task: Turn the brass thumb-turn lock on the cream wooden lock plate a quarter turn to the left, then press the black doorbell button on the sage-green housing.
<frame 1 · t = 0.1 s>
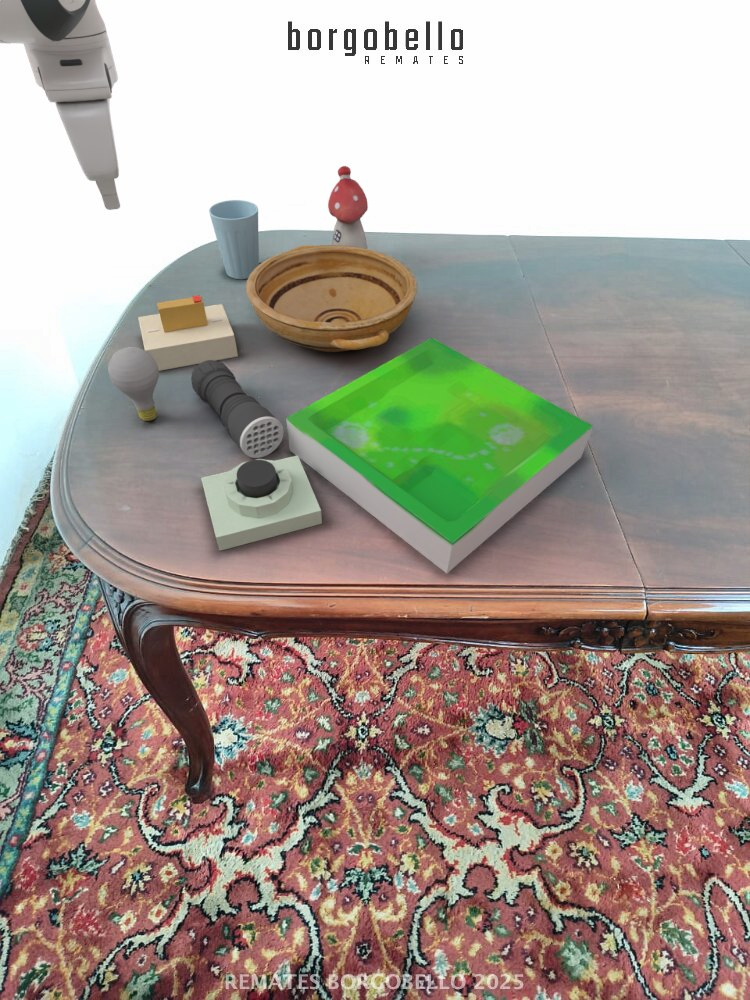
hand: (110, 193, 77), 18 cm above the table, tool pointing down, fingers open, 8 cm apart
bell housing: (262, 507, 65), on the table
tray: (435, 455, 71), on the table
light bulb: (150, 420, 75), on the table
lock plate: (190, 347, 85), on the table
ceramic bowl: (333, 332, 89), on the table
bell button: (257, 478, 61), point 4 cm above the table, slide at 0.1 cm
cup: (242, 273, 102), on the table
lock knob: (182, 313, 81), point 5 cm above the table, hinge at 0.0°
flashlight: (238, 424, 74), on the table
decorative ornament: (347, 265, 104), on the table
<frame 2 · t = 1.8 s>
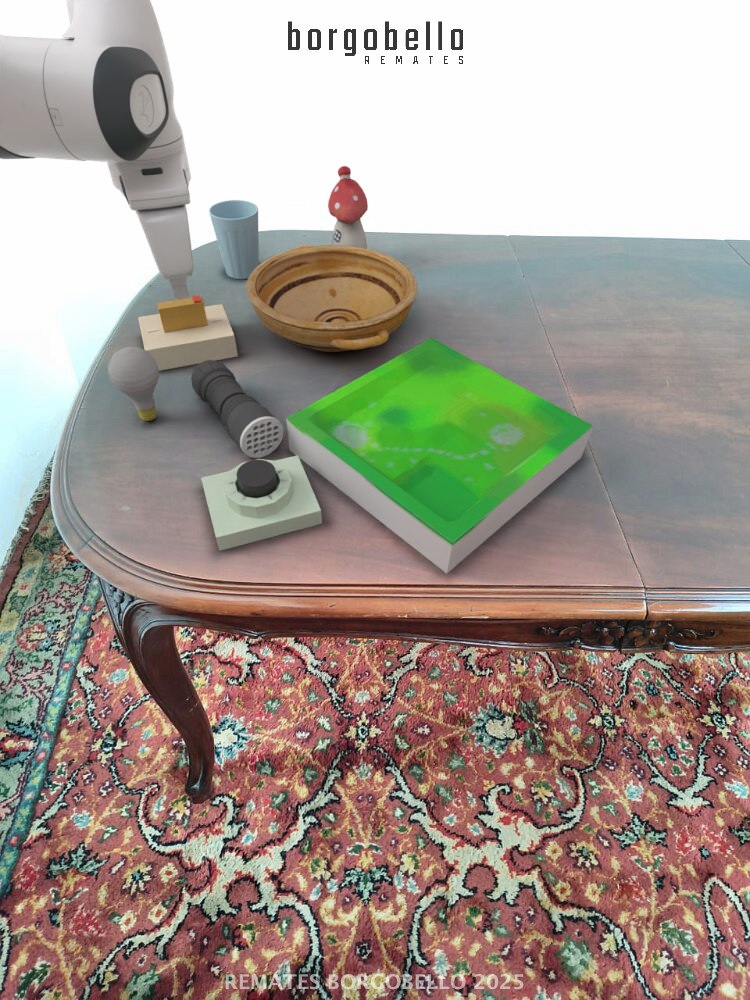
hand: (176, 279, 78), 10 cm above the table, tool pointing down, fingers open, 8 cm apart
nothing on the table moved.
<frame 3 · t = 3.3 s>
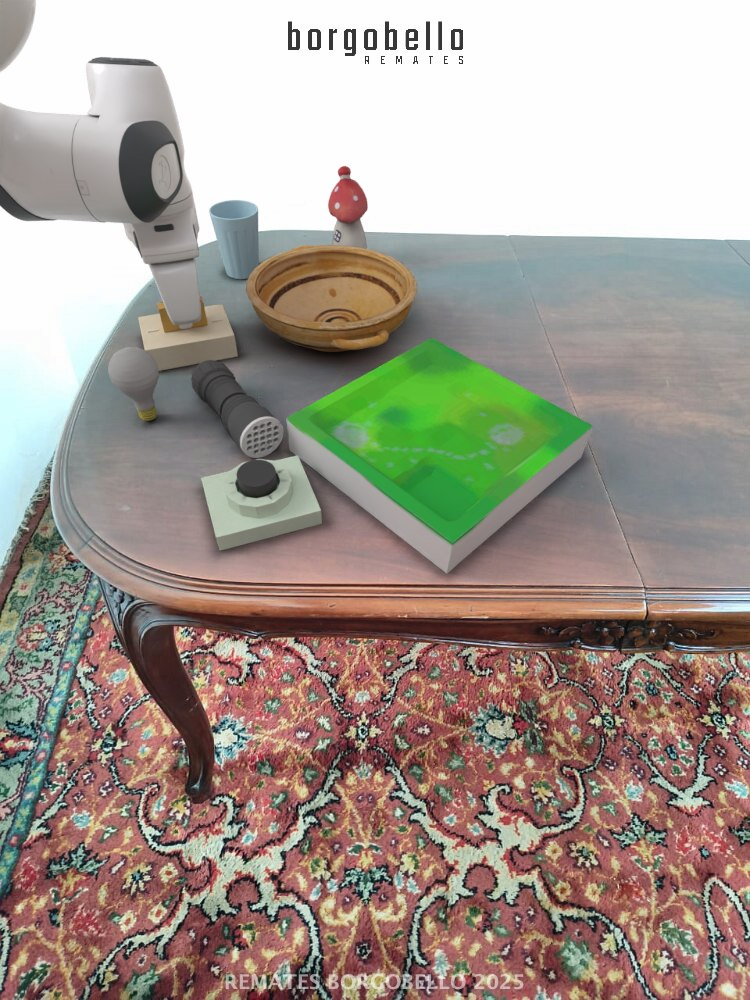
hand: (184, 320, 82), 4 cm above the table, tool pointing down, fingers closed on lock knob, 2 cm apart
lock knob: (182, 313, 81), point 5 cm above the table, hinge at 0.0°, touching gripper
everything else where it was.
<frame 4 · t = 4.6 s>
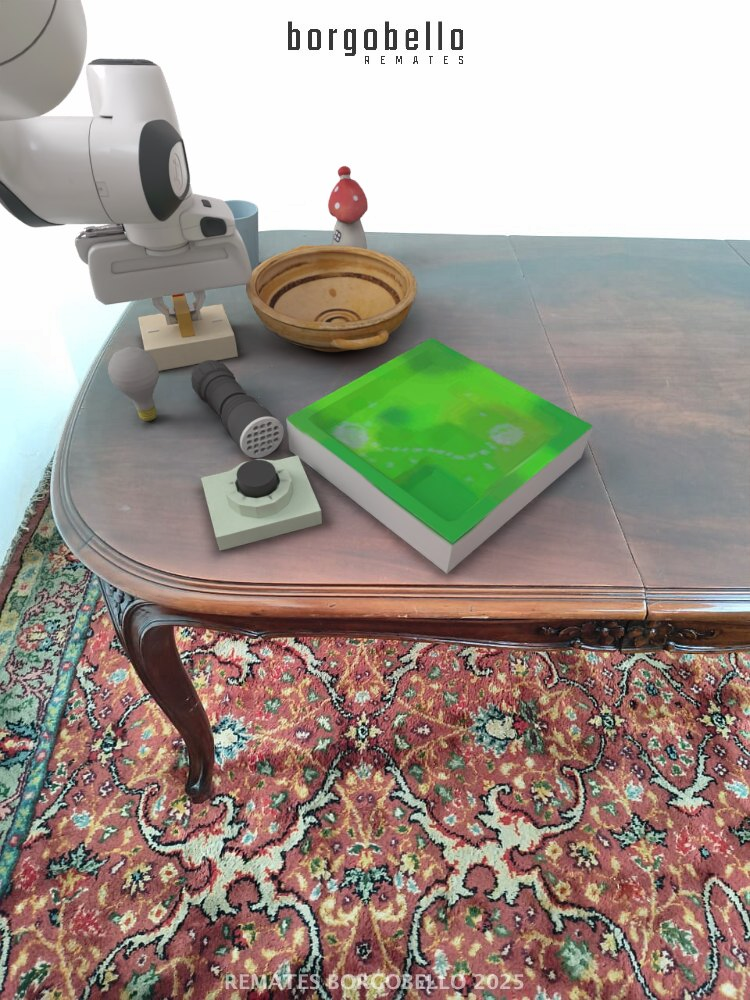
hand: (184, 320, 82), 4 cm above the table, tool pointing down, fingers closed on lock knob, 2 cm apart
lock knob: (182, 313, 81), point 5 cm above the table, hinge at 89.3°, touching gripper
everything else where it was.
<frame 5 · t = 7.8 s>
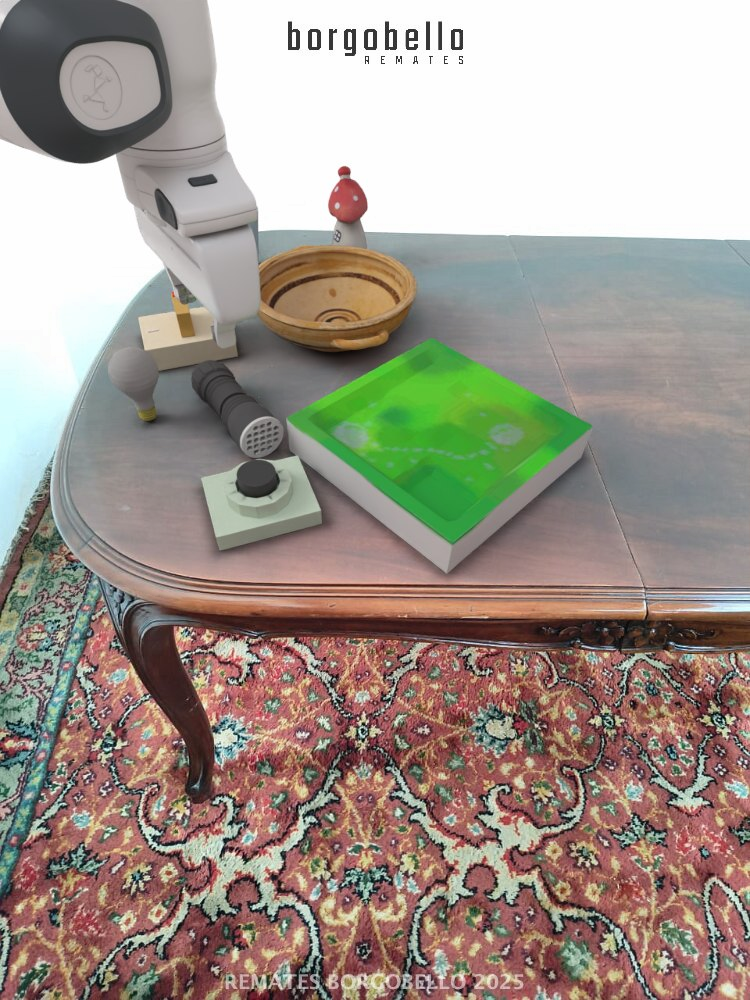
hand: (205, 321, 59), 17 cm above the table, tool pointing down, fingers open, 8 cm apart
lock knob: (182, 313, 81), point 5 cm above the table, hinge at 89.3°
everything else where it was.
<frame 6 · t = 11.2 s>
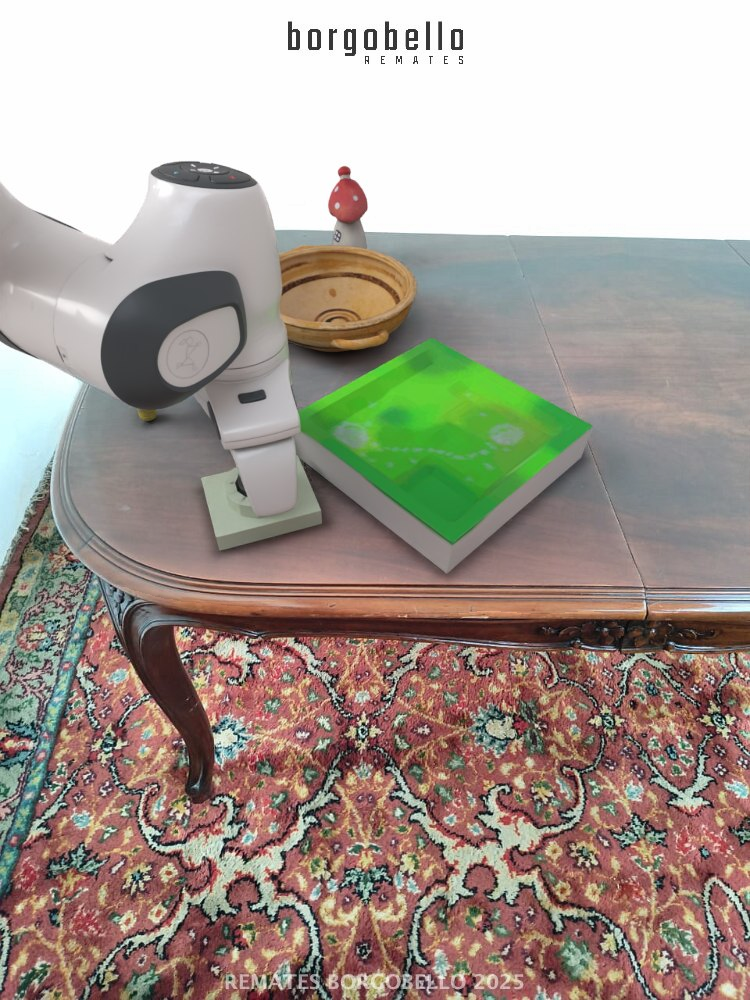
hand: (258, 480, 61), 4 cm above the table, tool pointing down, fingers closed, pressing on bell button
bell button: (258, 484, 62), point 4 cm above the table, slide at -0.8 cm, touching gripper
everything else where it was.
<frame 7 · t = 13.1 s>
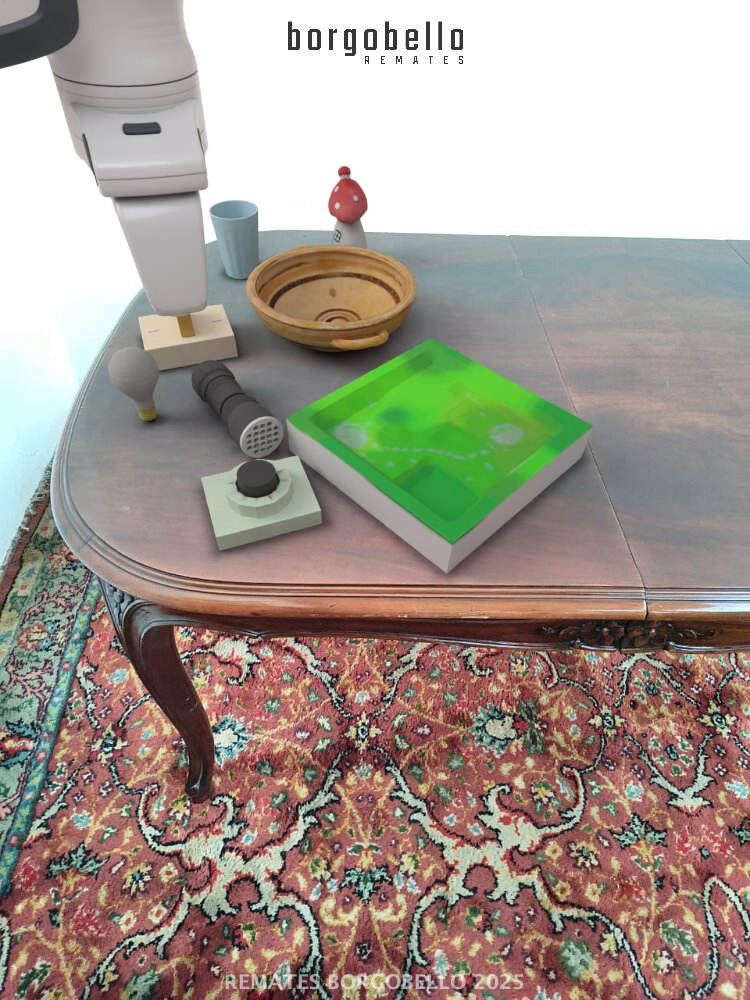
hand: (177, 307, 50), 22 cm above the table, tool pointing down, fingers closed
bell button: (257, 478, 61), point 4 cm above the table, slide at 0.1 cm
everything else where it was.
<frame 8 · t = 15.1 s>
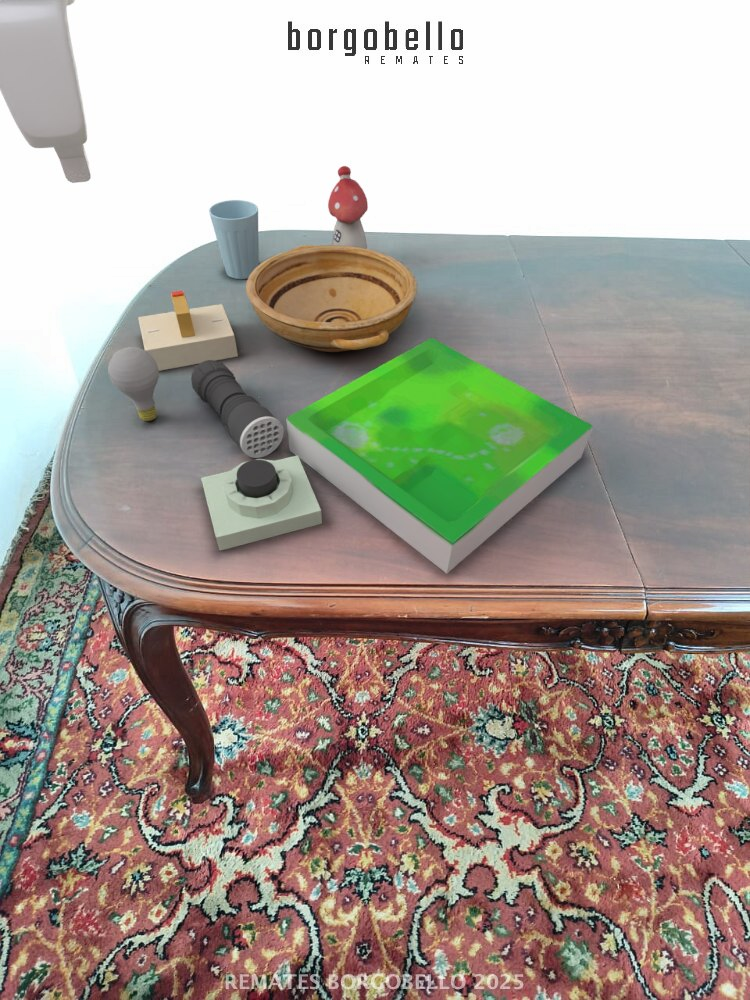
hand: (79, 175, 46), 31 cm above the table, tool pointing down, fingers closed
nothing on the table moved.
at the end: lock knob at +89° (first picture: +0°); bell button pushed in 1.1 cm at the most during the clip, back to where it started at the end; bell button slide at 0.1 cm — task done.
